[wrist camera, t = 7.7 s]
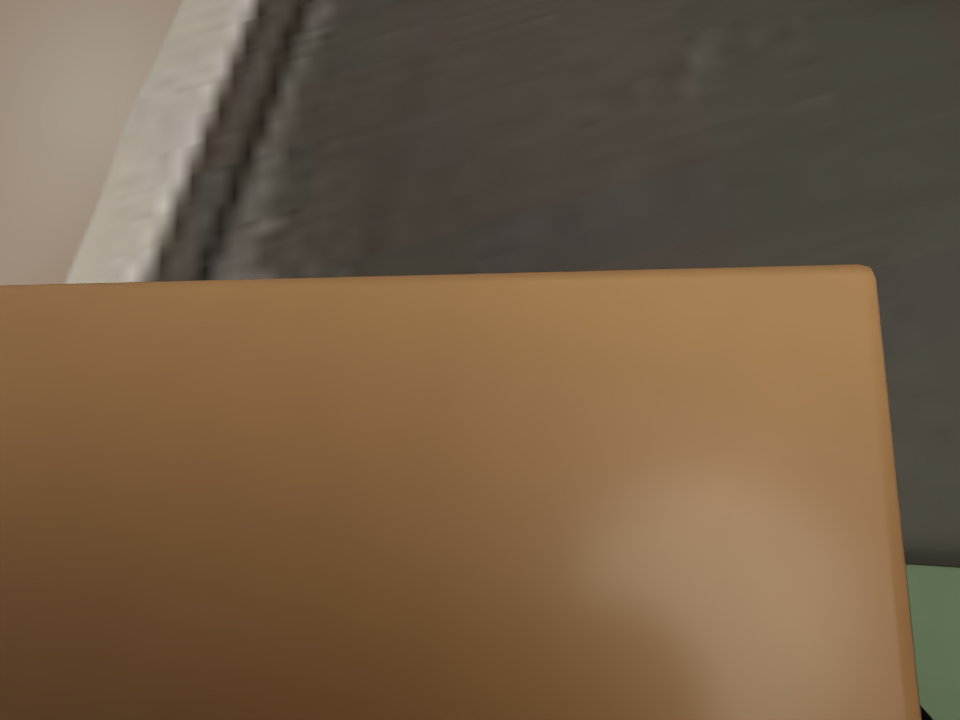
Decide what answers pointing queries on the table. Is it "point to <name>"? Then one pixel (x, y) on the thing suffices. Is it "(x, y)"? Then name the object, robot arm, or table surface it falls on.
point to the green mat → (936, 637)
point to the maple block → (452, 499)
